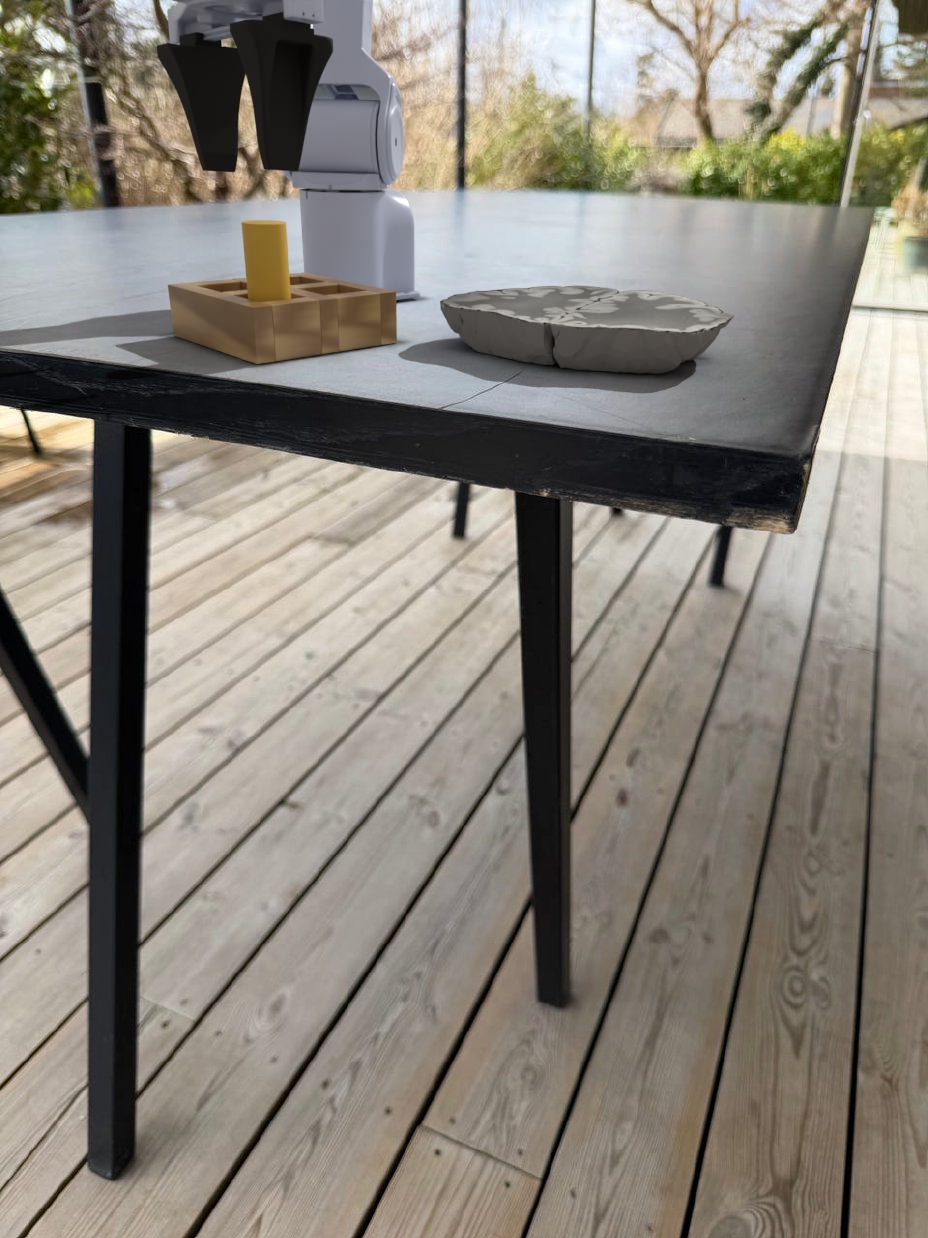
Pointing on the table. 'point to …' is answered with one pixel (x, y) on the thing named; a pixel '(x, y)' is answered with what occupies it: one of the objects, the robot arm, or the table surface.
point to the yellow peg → (266, 260)
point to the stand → (284, 318)
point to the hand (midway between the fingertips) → (248, 170)
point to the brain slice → (586, 327)
